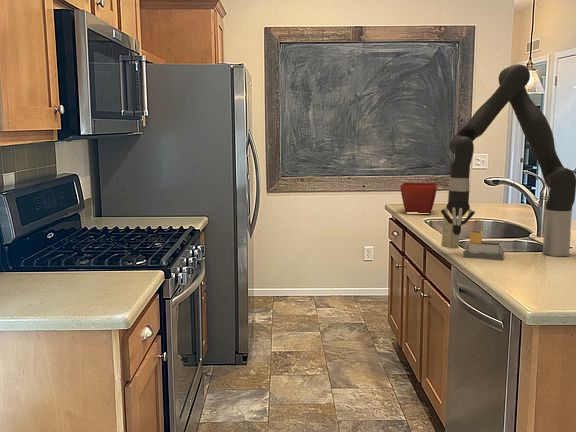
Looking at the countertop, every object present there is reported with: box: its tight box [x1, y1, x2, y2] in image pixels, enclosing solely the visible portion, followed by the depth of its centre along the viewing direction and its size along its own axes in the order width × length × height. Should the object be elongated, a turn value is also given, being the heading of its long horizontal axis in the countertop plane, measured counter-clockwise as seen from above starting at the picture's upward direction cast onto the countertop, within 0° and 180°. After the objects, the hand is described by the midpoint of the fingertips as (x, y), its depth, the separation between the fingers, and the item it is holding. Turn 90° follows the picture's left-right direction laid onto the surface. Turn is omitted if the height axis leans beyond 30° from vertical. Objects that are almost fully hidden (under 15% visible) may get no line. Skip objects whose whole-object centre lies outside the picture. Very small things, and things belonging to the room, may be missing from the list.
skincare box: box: [441, 215, 461, 249], centre depth 246 cm, size 6×4×12 cm
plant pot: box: [400, 182, 439, 214], centre depth 341 cm, size 19×19×17 cm
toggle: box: [469, 229, 484, 244], centre depth 228 cm, size 4×4×7 cm
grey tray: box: [462, 240, 505, 261], centre depth 227 cm, size 14×9×5 cm, turn 67°
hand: (456, 234), depth 230 cm, fingers closed
